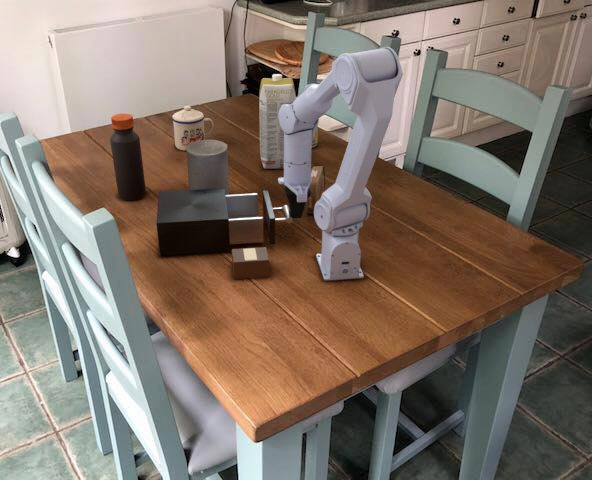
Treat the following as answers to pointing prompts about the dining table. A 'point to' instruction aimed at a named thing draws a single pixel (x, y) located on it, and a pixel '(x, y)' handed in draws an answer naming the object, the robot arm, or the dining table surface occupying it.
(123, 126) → the vinegar
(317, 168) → the tin
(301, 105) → the robot arm
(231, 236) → the drawer
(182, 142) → the teacup with lid
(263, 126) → the juice carton
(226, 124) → the dining table surface
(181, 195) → the black box
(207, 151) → the pillar candle
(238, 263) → the packet
